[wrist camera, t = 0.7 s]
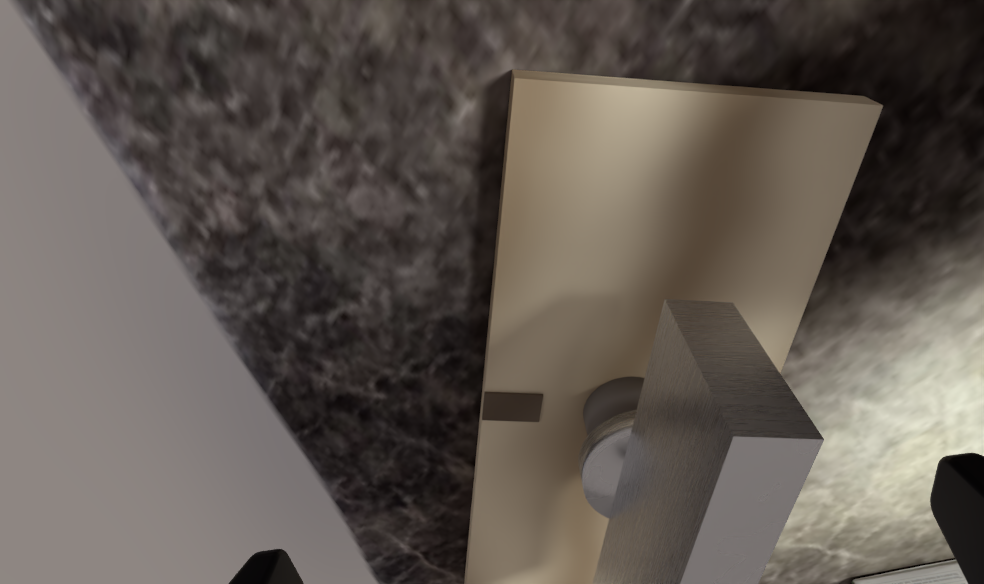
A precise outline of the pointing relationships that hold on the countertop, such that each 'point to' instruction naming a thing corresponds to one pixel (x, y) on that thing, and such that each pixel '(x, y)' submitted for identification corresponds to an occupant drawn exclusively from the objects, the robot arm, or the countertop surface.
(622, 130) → the post board
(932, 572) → the syrup box
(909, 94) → the countertop surface
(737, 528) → the grey rectangular bar
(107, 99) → the countertop surface
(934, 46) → the countertop surface
